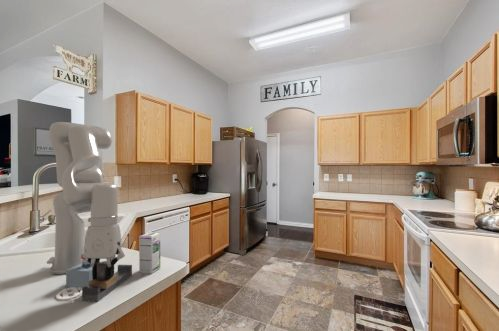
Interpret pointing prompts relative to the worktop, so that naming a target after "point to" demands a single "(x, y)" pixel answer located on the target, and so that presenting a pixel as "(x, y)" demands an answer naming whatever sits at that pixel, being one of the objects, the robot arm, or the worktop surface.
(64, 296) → the pendant
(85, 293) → the rail
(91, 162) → the robot arm
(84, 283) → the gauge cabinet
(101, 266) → the carriage
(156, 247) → the syrup box
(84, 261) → the plunger
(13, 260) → the worktop surface
